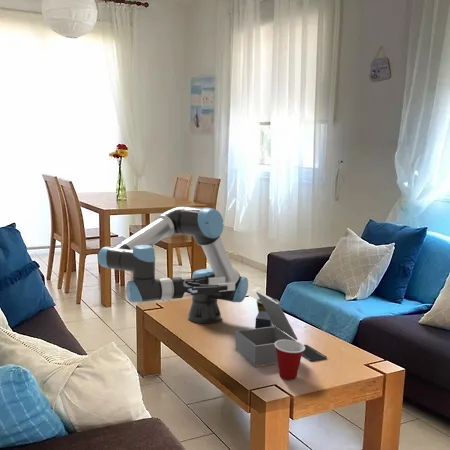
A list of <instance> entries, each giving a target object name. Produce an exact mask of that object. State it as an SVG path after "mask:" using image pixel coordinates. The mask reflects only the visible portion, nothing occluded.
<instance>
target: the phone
mask: <svg viewBox="0 0 450 450" xmlns="http://www.w3.org/2000/svg"><path fill="white" fill-rule="evenodd" d="M303 345H304V346H305V350H304V351H303V353H302V356H301V358H304V359H305V360H307V361H308V362H310V363H312V362H320V361H324V360H327V355H325V354H323V353H321V352H319V350H316V349H315V348H314V347H311V346H310V345H308V344H303Z"/></svg>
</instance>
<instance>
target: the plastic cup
mask: <svg viewBox="0 0 450 450" xmlns="http://www.w3.org/2000/svg"><path fill="white" fill-rule="evenodd" d="M274 344H275V347H276V353H277V360H278V364H277V367H278V373H279V377H280V378H281V379H282V380H286V381H293V380H296V378H297V376H298V371H299V369H300V368H299V367H300V364H301V360H302V353H303V351H304V350H305V346H304V345H305V344H303V343H301V342H299V341H298V340H296V341H293V340H278V341H276V342H275V343H274Z"/></svg>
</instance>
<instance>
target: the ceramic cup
mask: <svg viewBox="0 0 450 450" xmlns="http://www.w3.org/2000/svg"><path fill="white" fill-rule="evenodd" d="M272 299H273V300H274V301H276V302H277V303H279V304H280V302H279V300H278V299H276V298H272ZM256 305H257V310H258V311H257V312H258V313H259V311H263V312H267V311H266V310H265V308H264V306H263V304H262V302H261V300H260V298H257V299H256Z"/></svg>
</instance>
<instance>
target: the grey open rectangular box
mask: <svg viewBox="0 0 450 450" xmlns="http://www.w3.org/2000/svg"><path fill="white" fill-rule="evenodd" d="M278 340H293V341H297V340H295V339H294V338H292V337H291V336H289V335H288V334H286V333H285V332H283V331H282V330H280V329H279V328H277V327H276V326H274V325H273V326H272V327H264V328H256V329H255V328H249V329H241V330H235V344H234V345H235V349H234V350H235V351H236V353H238V354H239V355H240V356H241V357H243V359H244V360H246V361H247V362H248V363H249V364H251V366H253V367H254V368H258V367H259V368H260V367H265V366H273V365H278V360H277V353H276V347H275V344H274V343H275V342H276V341H278Z"/></svg>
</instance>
